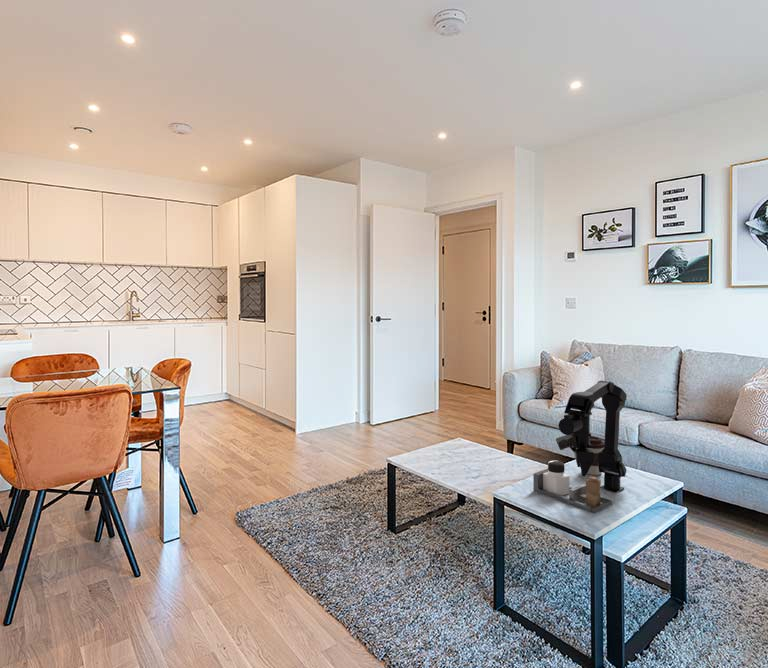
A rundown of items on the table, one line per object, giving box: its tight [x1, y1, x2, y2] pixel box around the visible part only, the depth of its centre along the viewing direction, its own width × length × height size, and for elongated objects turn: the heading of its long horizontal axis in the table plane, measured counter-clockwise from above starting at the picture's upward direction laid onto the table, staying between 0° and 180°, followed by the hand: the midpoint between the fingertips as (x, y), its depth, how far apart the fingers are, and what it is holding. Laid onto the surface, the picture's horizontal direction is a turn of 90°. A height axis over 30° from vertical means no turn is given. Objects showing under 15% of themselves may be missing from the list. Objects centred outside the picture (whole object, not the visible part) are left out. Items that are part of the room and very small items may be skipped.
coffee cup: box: [586, 435, 604, 476], centre depth 211 cm, size 10×10×15 cm
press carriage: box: [568, 476, 602, 507], centre depth 180 cm, size 8×9×10 cm
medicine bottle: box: [543, 460, 571, 496], centre depth 190 cm, size 7×7×12 cm
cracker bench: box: [532, 468, 613, 514], centre depth 185 cm, size 12×26×7 cm, turn 36°
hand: (581, 471), depth 176 cm, fingers open, 9 cm apart
